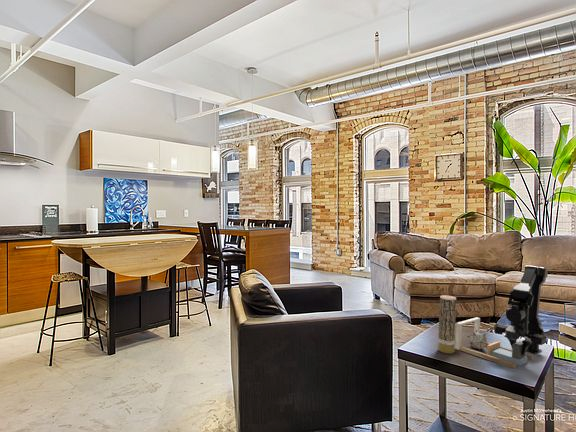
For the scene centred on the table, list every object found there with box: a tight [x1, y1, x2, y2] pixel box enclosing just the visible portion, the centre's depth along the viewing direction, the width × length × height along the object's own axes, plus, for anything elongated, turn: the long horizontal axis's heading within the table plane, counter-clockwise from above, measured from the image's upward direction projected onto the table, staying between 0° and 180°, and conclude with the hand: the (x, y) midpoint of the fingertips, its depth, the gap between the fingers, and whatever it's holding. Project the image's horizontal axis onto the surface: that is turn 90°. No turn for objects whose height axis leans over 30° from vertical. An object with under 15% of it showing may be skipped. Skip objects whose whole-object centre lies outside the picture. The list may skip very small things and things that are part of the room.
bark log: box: [437, 294, 457, 355], centre depth 172 cm, size 7×7×25 cm
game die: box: [466, 330, 489, 352], centre depth 176 cm, size 9×8×10 cm
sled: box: [486, 340, 528, 366], centre depth 165 cm, size 10×13×8 cm
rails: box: [460, 341, 534, 369], centre depth 169 cm, size 18×23×2 cm
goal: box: [454, 316, 481, 351], centre depth 180 cm, size 18×2×12 cm, turn 126°
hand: (518, 354), depth 162 cm, fingers open, 3 cm apart
